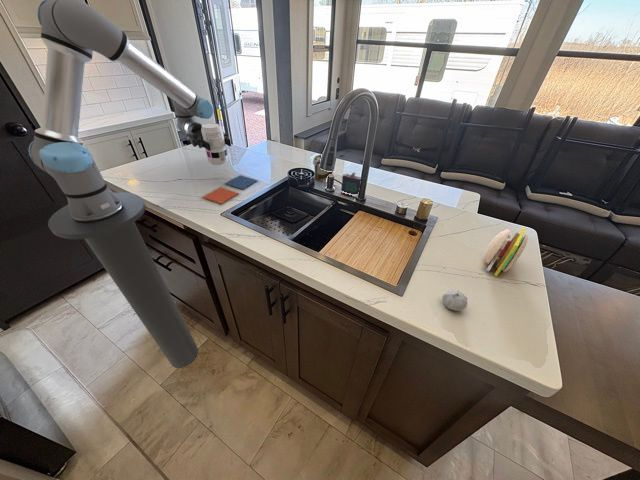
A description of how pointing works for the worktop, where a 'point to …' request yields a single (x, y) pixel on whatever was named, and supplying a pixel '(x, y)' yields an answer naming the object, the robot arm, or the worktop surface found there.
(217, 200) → the terracotta pad
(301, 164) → the worktop surface
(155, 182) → the worktop surface
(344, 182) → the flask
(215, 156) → the supplement can
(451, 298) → the garlic
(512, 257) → the hamburger
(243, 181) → the slate pad
